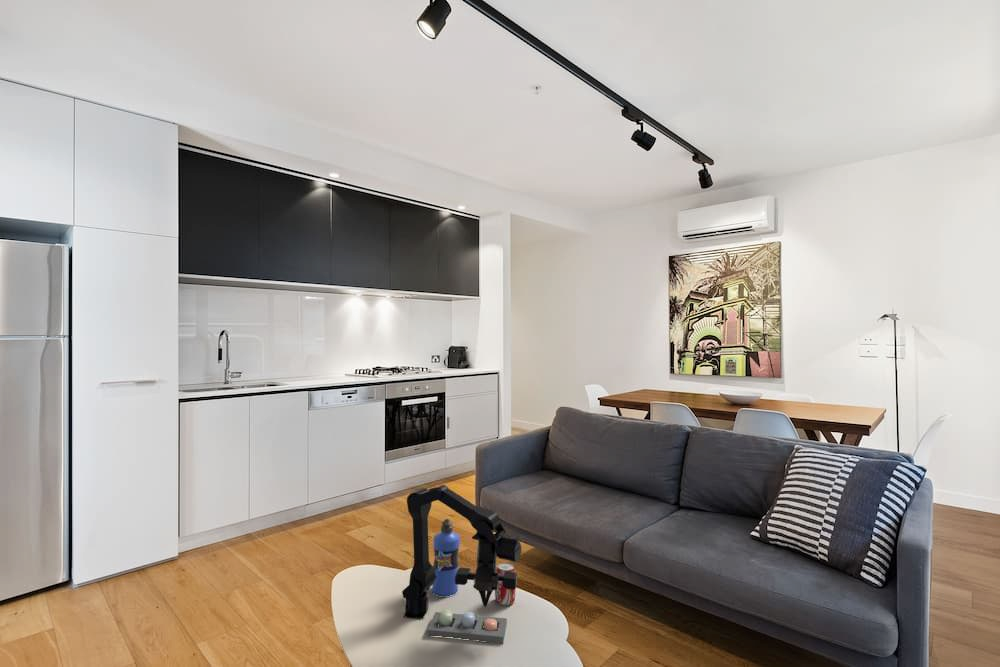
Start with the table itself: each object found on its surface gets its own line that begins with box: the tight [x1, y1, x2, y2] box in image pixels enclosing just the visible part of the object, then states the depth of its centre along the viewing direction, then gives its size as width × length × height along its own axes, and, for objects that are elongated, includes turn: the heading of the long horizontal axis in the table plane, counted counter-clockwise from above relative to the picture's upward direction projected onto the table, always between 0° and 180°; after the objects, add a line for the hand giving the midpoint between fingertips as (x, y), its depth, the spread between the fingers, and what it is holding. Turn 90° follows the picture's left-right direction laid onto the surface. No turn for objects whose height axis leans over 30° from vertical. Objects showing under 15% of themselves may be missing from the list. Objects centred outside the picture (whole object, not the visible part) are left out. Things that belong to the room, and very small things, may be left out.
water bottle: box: [431, 518, 461, 597], centre depth 174 cm, size 9×9×25 cm
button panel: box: [426, 611, 508, 645], centre depth 149 cm, size 23×10×2 cm, turn 83°
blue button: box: [461, 611, 476, 629], centre depth 149 cm, size 4×4×3 cm
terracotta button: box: [483, 619, 498, 631], centre depth 149 cm, size 4×4×3 cm
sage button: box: [439, 609, 453, 627], centre depth 150 cm, size 4×4×3 cm
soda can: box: [494, 562, 517, 606], centre depth 167 cm, size 7×7×12 cm
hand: (485, 606), depth 149 cm, fingers closed
